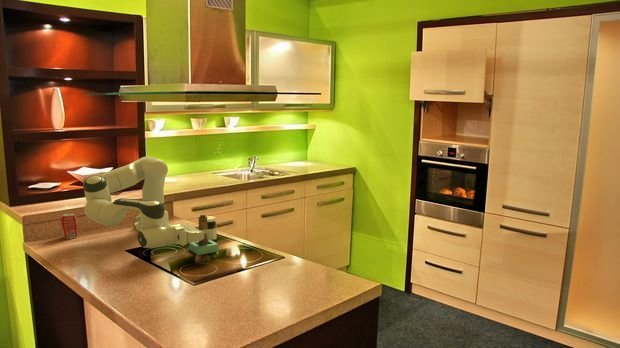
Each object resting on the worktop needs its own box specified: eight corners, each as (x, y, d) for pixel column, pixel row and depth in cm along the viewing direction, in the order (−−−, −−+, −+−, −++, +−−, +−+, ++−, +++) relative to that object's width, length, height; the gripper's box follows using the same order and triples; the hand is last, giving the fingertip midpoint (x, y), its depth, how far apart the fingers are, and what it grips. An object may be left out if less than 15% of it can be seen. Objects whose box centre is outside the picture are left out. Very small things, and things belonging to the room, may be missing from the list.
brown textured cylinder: (197, 244, 230) (196, 214, 228) (205, 242, 232) (205, 213, 230) (201, 246, 226) (200, 216, 224) (209, 244, 229) (208, 215, 227)
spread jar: (214, 243, 241) (213, 220, 239) (191, 243, 241) (190, 220, 240) (219, 236, 253) (218, 214, 251) (197, 236, 253) (196, 214, 252)
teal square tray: (189, 249, 231) (189, 242, 230) (209, 246, 237) (209, 239, 236) (198, 255, 223) (197, 247, 222) (218, 251, 229) (218, 244, 228)
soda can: (70, 235, 254) (68, 212, 252) (81, 236, 251) (79, 213, 249) (59, 238, 247) (57, 215, 245) (70, 240, 245) (68, 216, 243)
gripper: (168, 235, 229) (196, 231, 237) (184, 246, 213) (214, 241, 221) (167, 222, 229) (196, 218, 237) (184, 232, 212) (213, 227, 220)
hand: (204, 229), depth 229 cm, fingers closed on brown textured cylinder, 4 cm apart
